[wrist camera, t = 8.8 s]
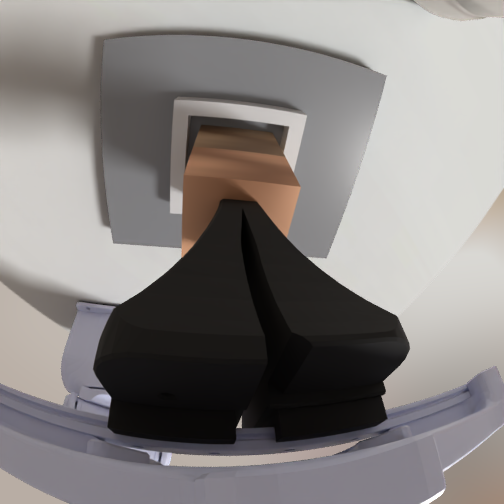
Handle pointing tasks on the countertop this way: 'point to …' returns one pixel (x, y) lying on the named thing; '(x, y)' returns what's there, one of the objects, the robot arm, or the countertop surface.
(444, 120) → the countertop surface
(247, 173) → the copper rectangular block
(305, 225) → the collar board
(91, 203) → the countertop surface
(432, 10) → the plastic bottle
